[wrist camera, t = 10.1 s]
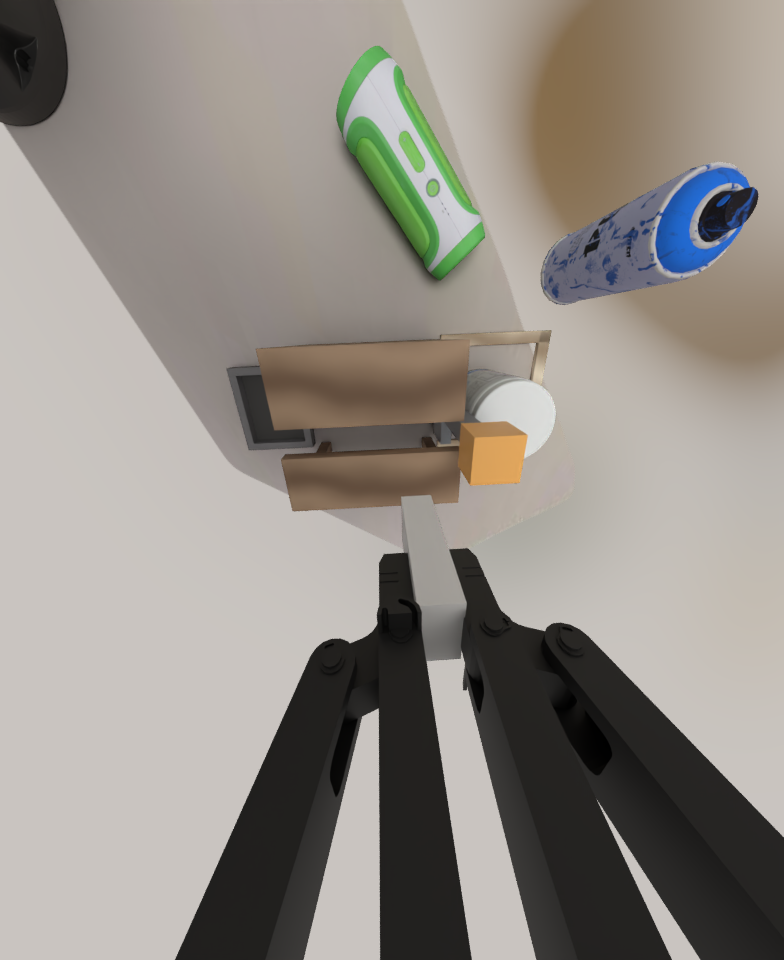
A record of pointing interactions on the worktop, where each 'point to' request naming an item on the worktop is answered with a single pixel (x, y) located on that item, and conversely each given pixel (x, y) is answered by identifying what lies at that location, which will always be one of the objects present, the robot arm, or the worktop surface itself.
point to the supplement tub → (511, 404)
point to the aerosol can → (652, 237)
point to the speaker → (406, 162)
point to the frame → (511, 338)
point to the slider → (486, 449)
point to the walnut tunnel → (367, 417)
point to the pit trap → (262, 413)
